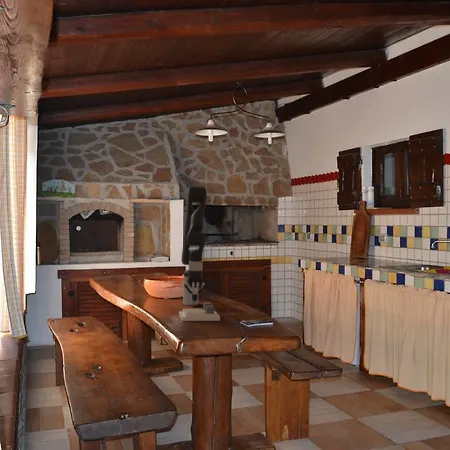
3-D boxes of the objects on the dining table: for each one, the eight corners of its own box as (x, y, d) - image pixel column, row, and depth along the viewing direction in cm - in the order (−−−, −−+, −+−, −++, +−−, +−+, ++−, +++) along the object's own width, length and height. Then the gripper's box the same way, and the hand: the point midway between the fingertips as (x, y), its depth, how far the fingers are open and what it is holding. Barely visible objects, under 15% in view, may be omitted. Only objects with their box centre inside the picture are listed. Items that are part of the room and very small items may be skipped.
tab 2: (205, 314, 291) (205, 305, 291) (212, 314, 292) (213, 305, 292) (206, 316, 287) (206, 306, 287) (214, 315, 288) (214, 306, 288)
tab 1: (203, 311, 300) (203, 302, 300) (210, 311, 301) (210, 302, 301) (204, 312, 296) (204, 303, 296) (211, 312, 297) (211, 303, 297)
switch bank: (179, 314, 300) (179, 308, 299) (215, 314, 303) (215, 308, 303) (181, 321, 284) (182, 314, 284) (220, 320, 287) (220, 313, 287)
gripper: (206, 268, 302) (205, 299, 302) (182, 268, 299) (181, 299, 300) (208, 270, 294) (207, 302, 295) (184, 270, 292) (183, 302, 293)
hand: (194, 301), depth 297 cm, fingers closed
